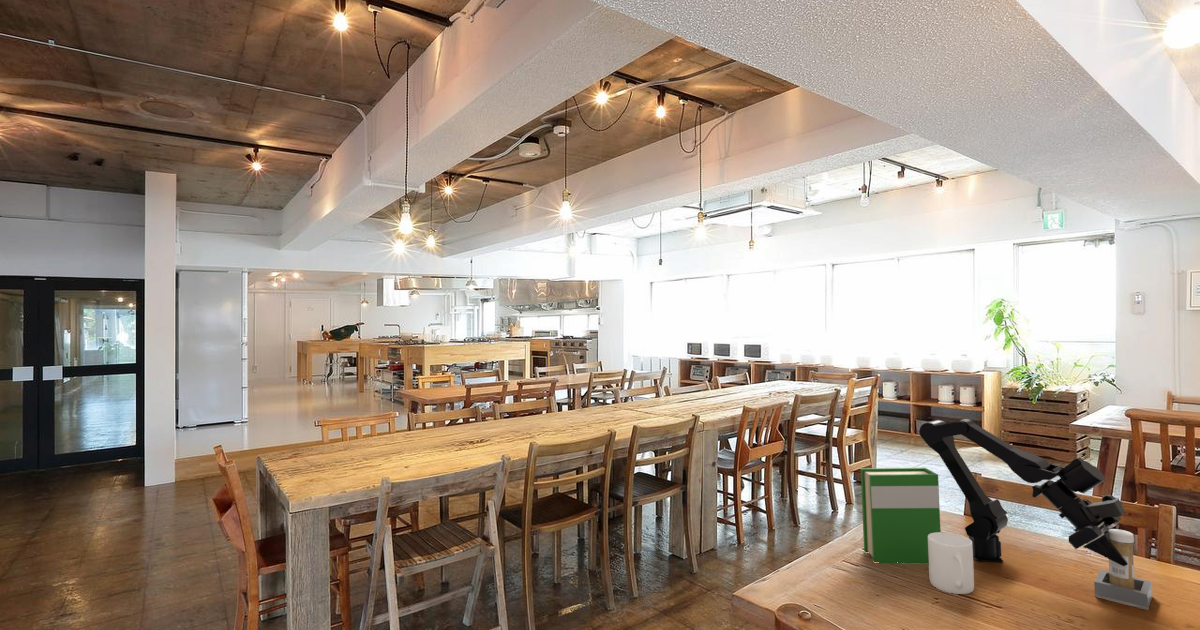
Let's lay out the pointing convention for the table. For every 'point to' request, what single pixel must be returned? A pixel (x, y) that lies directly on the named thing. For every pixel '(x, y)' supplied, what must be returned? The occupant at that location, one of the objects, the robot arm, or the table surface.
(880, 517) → the hardback book
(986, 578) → the table surface
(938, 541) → the mug
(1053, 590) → the table surface
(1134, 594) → the holder
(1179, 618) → the table surface
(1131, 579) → the sprinkles bottle
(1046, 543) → the table surface
